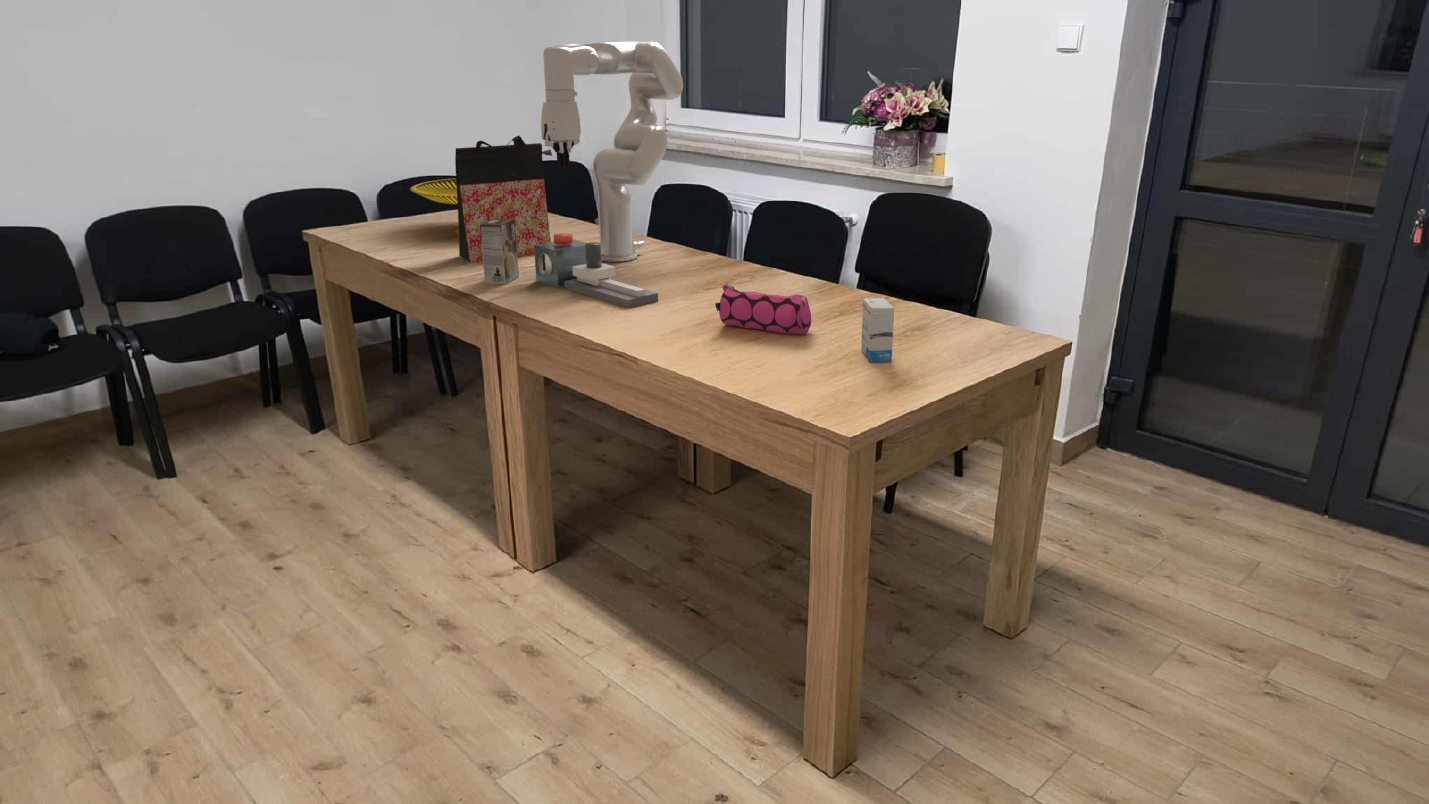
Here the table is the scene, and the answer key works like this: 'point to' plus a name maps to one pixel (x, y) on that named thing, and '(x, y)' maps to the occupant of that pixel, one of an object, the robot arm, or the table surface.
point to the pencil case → (764, 311)
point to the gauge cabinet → (558, 262)
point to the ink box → (877, 330)
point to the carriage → (593, 266)
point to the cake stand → (438, 192)
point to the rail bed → (613, 292)
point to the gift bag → (501, 194)
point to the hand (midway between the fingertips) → (563, 167)
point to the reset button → (563, 238)
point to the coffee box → (499, 251)
